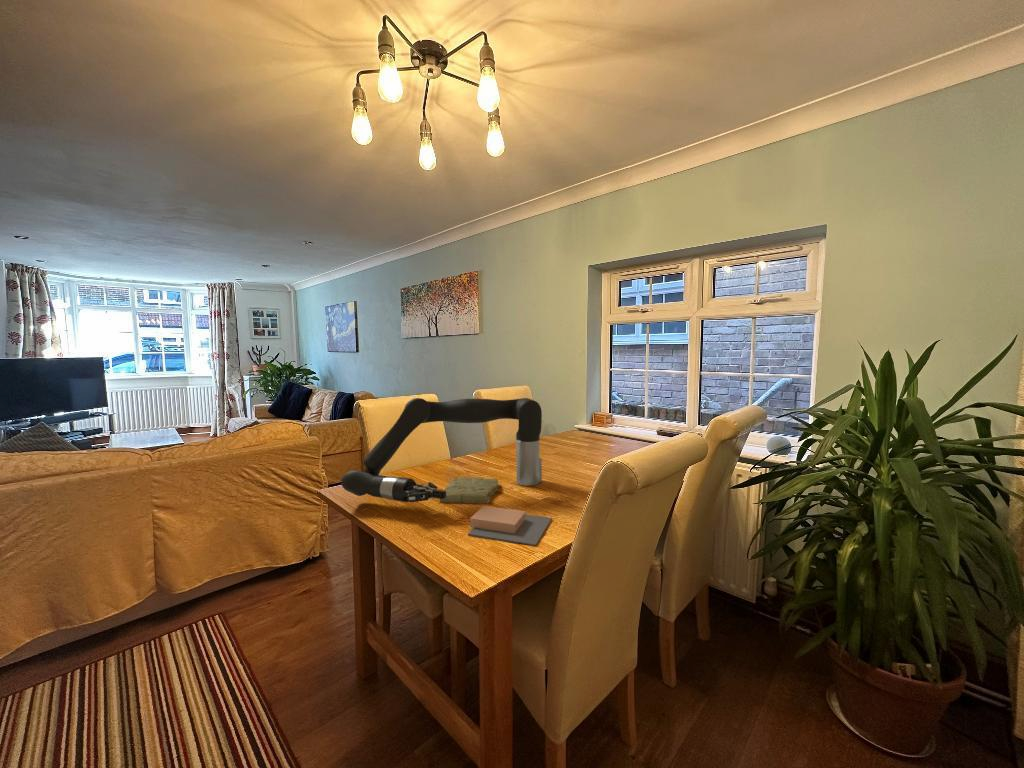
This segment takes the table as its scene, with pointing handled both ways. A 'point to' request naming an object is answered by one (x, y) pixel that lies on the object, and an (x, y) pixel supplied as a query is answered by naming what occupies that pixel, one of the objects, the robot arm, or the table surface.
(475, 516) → the glazed tile
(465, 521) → the table surface
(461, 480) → the olive green flat block
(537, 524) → the charcoal mat
